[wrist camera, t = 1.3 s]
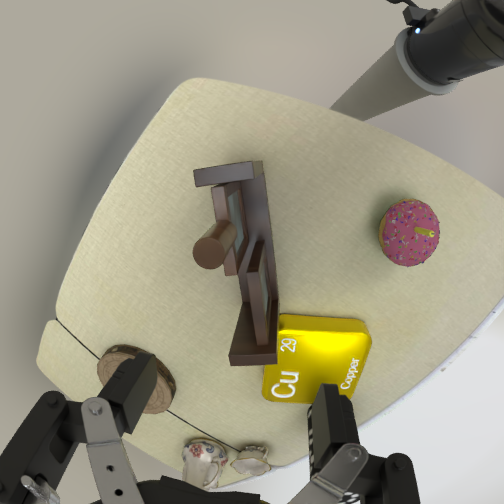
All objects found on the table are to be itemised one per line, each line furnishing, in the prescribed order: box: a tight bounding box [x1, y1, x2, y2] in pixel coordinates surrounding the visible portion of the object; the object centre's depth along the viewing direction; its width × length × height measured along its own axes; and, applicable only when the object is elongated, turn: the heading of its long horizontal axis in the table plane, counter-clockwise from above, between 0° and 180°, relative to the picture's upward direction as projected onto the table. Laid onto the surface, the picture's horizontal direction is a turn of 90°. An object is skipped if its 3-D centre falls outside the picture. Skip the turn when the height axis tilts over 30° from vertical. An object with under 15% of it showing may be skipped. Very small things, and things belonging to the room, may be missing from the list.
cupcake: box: [378, 199, 440, 267], centre depth 30 cm, size 9×8×12 cm
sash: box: [193, 181, 249, 276], centre depth 28 cm, size 8×2×16 cm, turn 8°
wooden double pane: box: [193, 161, 280, 366], centre depth 32 cm, size 20×5×14 cm, turn 8°
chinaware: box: [182, 438, 271, 492], centre depth 48 cm, size 28×17×17 cm, turn 141°
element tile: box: [262, 314, 372, 404], centre depth 41 cm, size 15×15×5 cm
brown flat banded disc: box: [97, 345, 176, 414], centre depth 48 cm, size 16×16×3 cm
